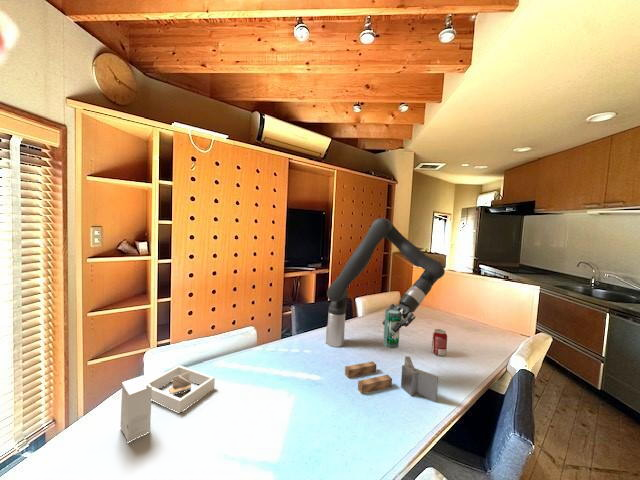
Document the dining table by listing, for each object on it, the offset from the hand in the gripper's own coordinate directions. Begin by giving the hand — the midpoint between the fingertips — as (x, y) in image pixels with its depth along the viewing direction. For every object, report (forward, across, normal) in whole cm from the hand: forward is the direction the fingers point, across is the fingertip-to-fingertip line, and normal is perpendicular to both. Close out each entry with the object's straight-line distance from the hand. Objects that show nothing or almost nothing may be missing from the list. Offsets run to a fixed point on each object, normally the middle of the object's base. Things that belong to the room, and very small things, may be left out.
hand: (388, 327), depth 112 cm
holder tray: (+73, -15, -42) cm, 85 cm away
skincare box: (+80, 0, -49) cm, 93 cm away
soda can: (-12, -8, +43) cm, 46 cm away
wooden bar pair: (+22, 0, +8) cm, 23 cm away
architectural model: (+72, -14, -41) cm, 84 cm away
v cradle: (+11, +11, +19) cm, 25 cm away
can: (+5, 0, +7) cm, 8 cm away
